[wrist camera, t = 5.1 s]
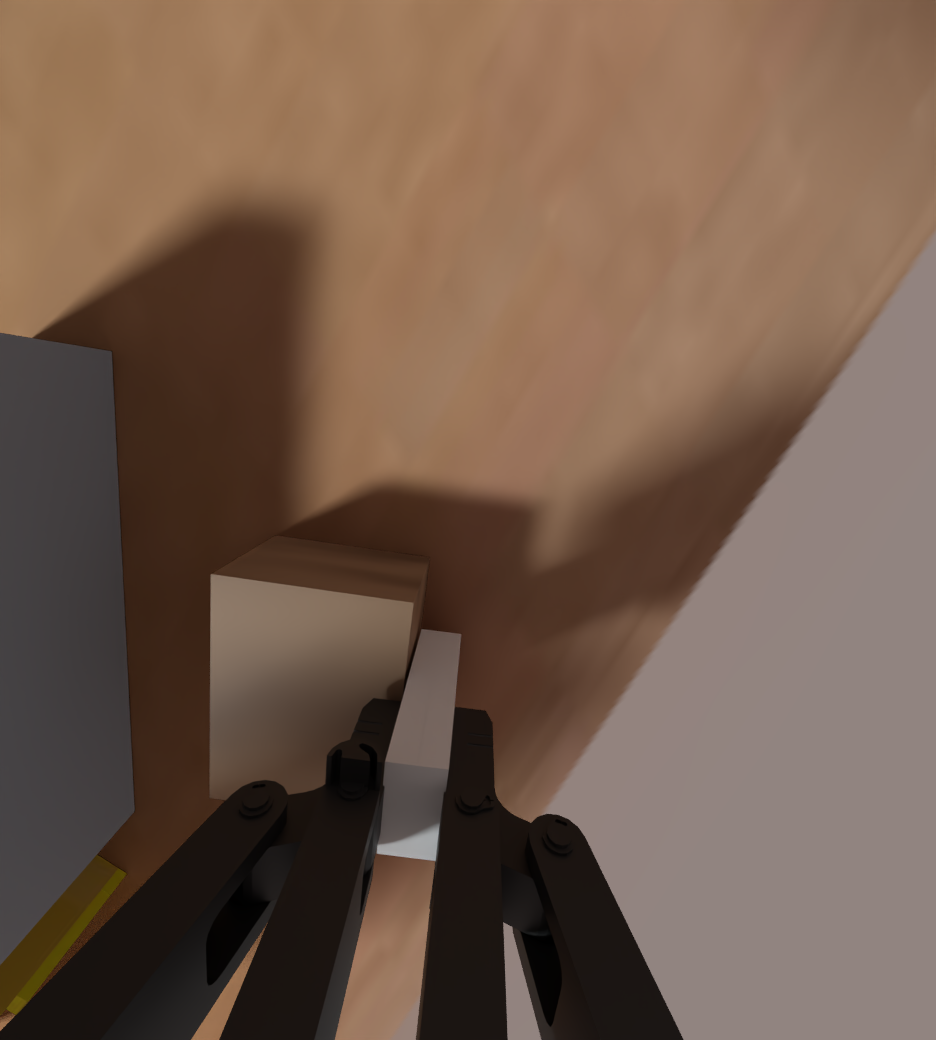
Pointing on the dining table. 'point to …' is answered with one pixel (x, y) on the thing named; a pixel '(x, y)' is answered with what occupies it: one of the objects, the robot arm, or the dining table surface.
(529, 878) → the robot arm
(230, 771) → the brown rectangular block
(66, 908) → the yellow rounded trough
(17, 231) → the dining table surface
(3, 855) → the slate board
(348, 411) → the dining table surface
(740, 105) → the dining table surface
